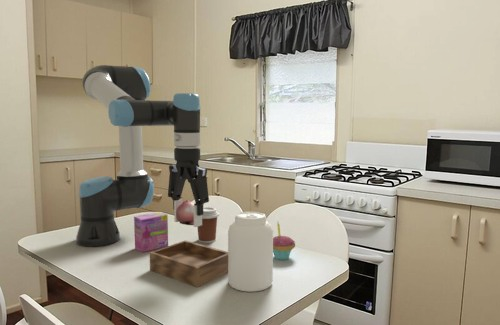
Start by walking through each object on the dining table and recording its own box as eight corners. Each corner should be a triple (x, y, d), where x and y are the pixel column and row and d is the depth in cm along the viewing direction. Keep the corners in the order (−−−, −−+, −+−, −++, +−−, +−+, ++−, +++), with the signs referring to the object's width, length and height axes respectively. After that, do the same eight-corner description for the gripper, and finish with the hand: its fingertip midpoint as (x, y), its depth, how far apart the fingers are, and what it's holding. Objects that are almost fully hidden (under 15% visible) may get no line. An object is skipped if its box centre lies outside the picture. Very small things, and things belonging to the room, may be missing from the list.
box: (142, 252, 138) (141, 219, 137) (134, 248, 142) (133, 216, 141) (168, 246, 145) (168, 214, 144) (161, 242, 149) (160, 211, 148)
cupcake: (263, 257, 134) (264, 222, 133) (279, 251, 141) (280, 217, 139) (284, 263, 129) (284, 227, 127) (300, 257, 135) (300, 222, 133)
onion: (182, 223, 125) (188, 200, 126) (204, 228, 122) (209, 205, 123) (168, 221, 118) (174, 197, 119) (191, 226, 115) (197, 202, 116)
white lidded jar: (278, 289, 110) (279, 218, 107) (234, 295, 106) (234, 221, 104) (264, 272, 122) (264, 207, 119) (223, 277, 118) (223, 210, 116)
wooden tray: (149, 270, 123) (149, 252, 122) (185, 256, 135) (185, 240, 134) (197, 287, 111) (197, 267, 111) (231, 270, 123) (231, 252, 122)
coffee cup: (192, 243, 148) (191, 211, 147) (198, 236, 157) (197, 205, 156) (216, 244, 147) (216, 212, 146) (221, 237, 156) (221, 206, 155)
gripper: (154, 145, 121) (155, 220, 124) (203, 150, 108) (203, 232, 111) (173, 144, 127) (174, 215, 130) (222, 148, 114) (222, 226, 117)
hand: (188, 223), depth 121 cm, fingers closed on onion, 8 cm apart
